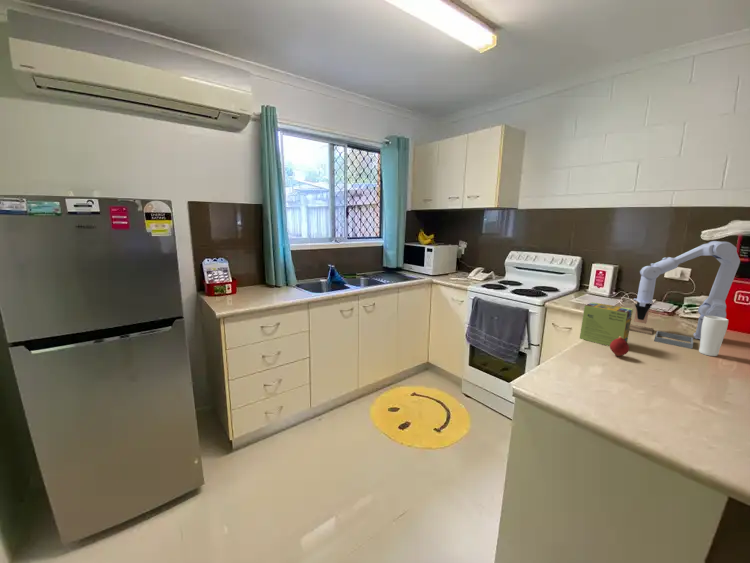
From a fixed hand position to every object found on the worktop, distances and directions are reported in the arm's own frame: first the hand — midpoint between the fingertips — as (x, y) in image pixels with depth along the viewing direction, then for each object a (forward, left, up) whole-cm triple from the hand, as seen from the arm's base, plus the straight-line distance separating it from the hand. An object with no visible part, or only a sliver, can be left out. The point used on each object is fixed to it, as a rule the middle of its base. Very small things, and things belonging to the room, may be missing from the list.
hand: (641, 318), depth 154 cm
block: (0, 0, -2) cm, 2 cm away
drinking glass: (+18, +23, -6) cm, 30 cm away
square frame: (+9, +13, -6) cm, 17 cm away
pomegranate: (+49, -2, -6) cm, 49 cm away
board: (0, 0, -6) cm, 6 cm away
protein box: (+33, -9, -6) cm, 35 cm away
